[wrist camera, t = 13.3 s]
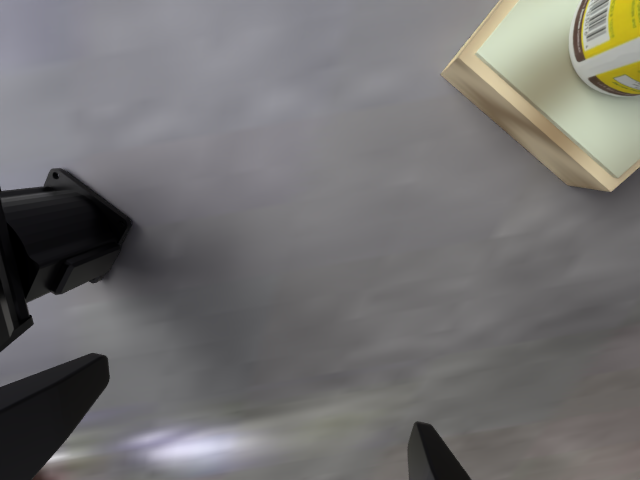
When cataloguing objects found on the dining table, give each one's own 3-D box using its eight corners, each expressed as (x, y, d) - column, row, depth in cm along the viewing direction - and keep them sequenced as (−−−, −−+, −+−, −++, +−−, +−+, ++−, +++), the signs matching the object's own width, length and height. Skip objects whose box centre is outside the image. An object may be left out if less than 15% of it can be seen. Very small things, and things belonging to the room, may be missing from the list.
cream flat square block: (440, 74, 17) (460, 55, 13) (595, -120, 14) (670, -205, 11) (567, 185, 18) (616, 192, 14) (740, 24, 15) (853, -14, 11)
